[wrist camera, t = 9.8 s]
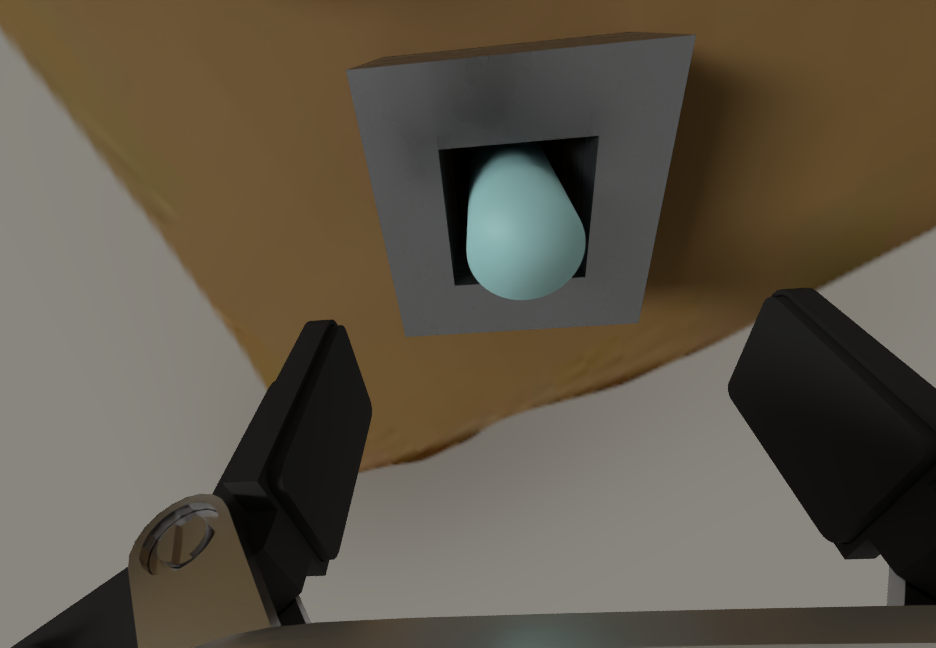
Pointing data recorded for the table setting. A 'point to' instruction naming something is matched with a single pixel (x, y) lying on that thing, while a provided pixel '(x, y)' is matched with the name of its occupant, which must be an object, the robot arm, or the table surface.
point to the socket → (513, 121)
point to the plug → (520, 223)
